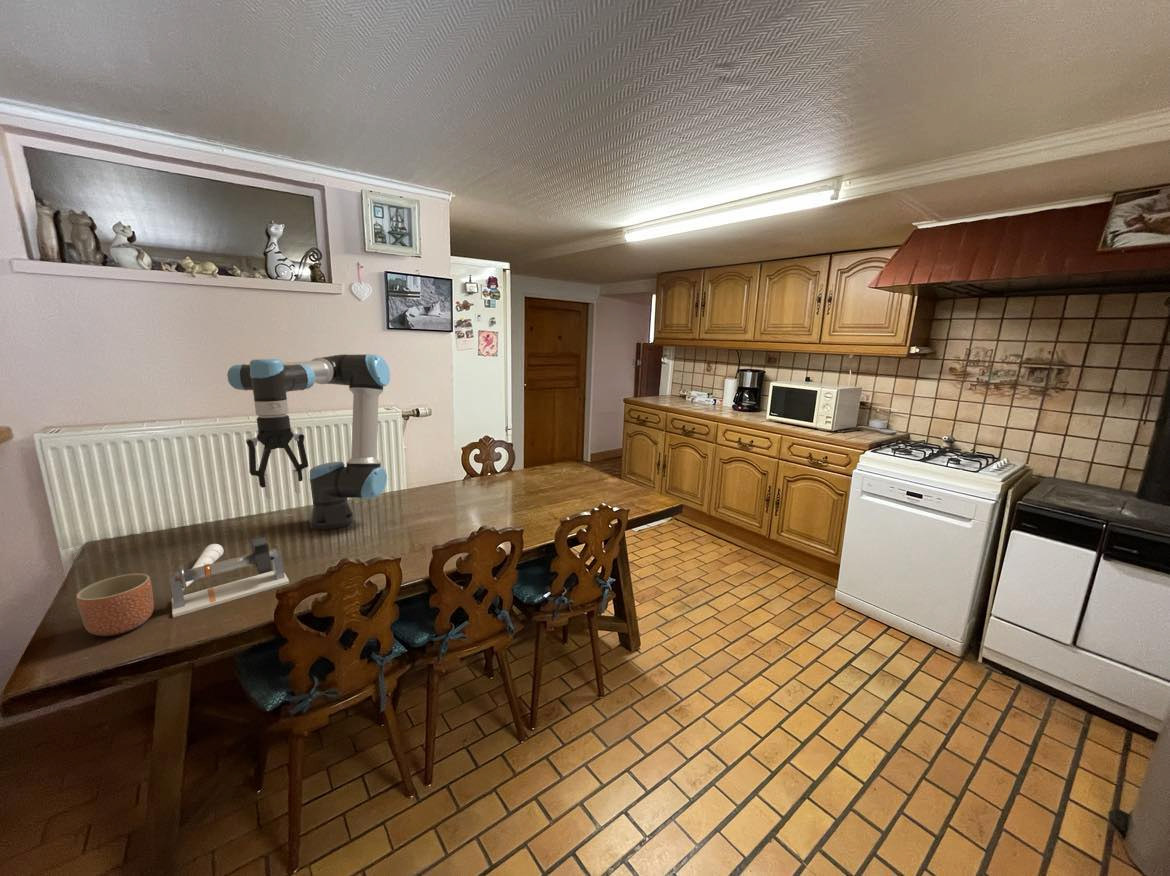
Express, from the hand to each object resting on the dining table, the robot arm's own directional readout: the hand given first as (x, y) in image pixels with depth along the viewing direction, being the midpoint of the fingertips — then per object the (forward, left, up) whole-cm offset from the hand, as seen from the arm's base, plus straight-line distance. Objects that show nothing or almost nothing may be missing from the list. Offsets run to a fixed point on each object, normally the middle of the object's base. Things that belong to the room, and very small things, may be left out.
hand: (283, 494), depth 131 cm
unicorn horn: (-21, -20, -25) cm, 38 cm away
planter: (+2, -36, -25) cm, 44 cm away
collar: (0, -7, -20) cm, 22 cm away
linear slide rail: (0, -14, -25) cm, 29 cm away
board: (0, -14, -25) cm, 29 cm away
